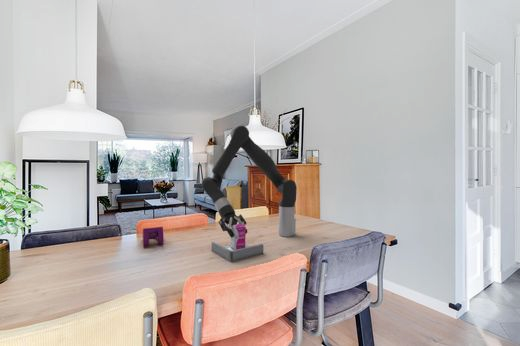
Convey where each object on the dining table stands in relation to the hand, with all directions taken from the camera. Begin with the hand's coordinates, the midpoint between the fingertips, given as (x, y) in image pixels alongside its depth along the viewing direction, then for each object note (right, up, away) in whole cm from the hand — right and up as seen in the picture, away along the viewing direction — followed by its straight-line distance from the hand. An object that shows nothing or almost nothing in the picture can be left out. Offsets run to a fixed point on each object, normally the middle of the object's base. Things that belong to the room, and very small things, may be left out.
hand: (239, 234), depth 127 cm
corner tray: (-1, -8, -1) cm, 8 cm away
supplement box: (-1, -7, +1) cm, 8 cm away
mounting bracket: (-48, -8, +14) cm, 51 cm away
